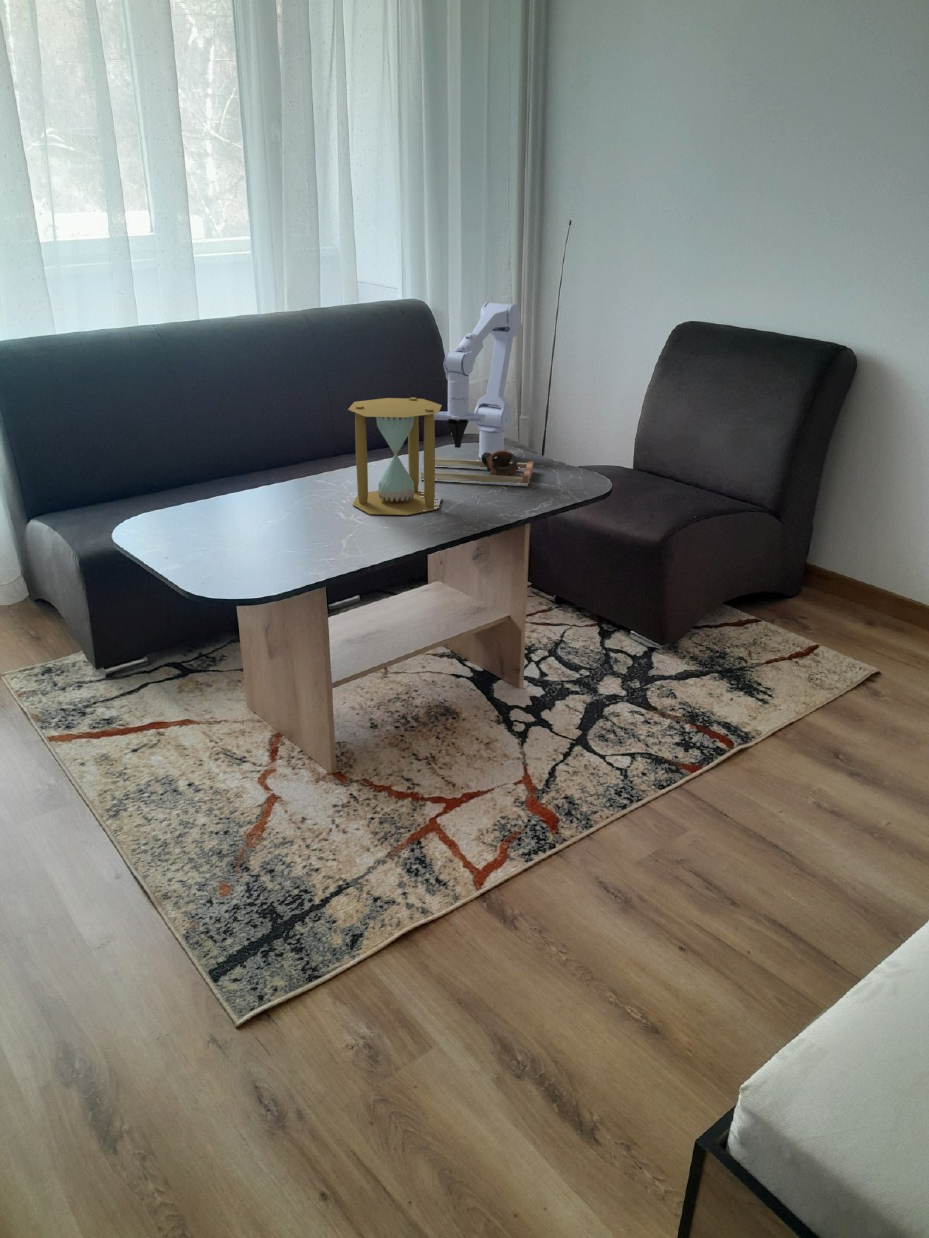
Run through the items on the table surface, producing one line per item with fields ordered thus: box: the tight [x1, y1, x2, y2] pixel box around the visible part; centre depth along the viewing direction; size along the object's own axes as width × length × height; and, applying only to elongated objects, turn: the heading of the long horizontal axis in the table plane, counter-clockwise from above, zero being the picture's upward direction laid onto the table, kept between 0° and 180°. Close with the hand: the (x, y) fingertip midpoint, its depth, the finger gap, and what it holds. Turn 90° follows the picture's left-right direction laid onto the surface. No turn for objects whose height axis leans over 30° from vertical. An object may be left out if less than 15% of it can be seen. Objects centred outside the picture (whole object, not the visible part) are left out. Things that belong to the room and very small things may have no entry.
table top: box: [420, 457, 534, 483], centre depth 262 cm, size 15×30×3 cm, turn 81°
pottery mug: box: [481, 450, 519, 476], centre depth 262 cm, size 12×10×8 cm
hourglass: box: [347, 397, 443, 516], centre depth 235 cm, size 24×22×25 cm
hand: (458, 446), depth 260 cm, fingers closed
